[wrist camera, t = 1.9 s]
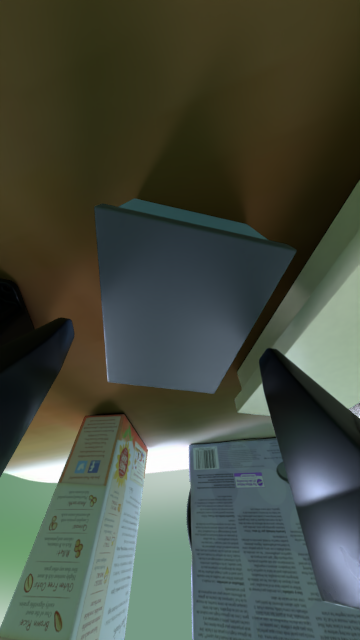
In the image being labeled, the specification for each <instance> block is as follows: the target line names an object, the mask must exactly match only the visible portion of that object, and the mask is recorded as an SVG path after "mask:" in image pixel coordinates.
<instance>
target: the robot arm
mask: <svg viewBox="0 0 360 640" xmlns="http://www.w3.org/2000/svg"><path fill="white" fill-rule="evenodd" d="M73 339H74V329H73V324H72V321H71V319H67V318H58V319H56V320H54V321H52V322H50V323H48V324H46V325H44V326H41V327H39V328H37V329H34V327H33V324H32V321H31V319H30V316H29V314H28V311H27V308H26V306H25V303H24V301H23V298H22V295H21V293H20V290H19V288H18V286H17V285H16V284H15V283H14V282H12V281H10V280H6V279H0V477H1V475H2V473H3V471H4V470H5V468H6V466H7V464H8V462H9V461H10V459H11V457H12V455H13V454H14V452H15V450H16V448H17V446H18V445H19V443H20V441H21V439H22V438H23V436H24V434H25V432H26V430H27V429H28V427H29V425H30V423H31V421H32V420H33V418H34V416H35V414H36V413H37V411H38V409H39V407H40V405H41V404H42V402H43V400H44V398H45V397H46V395H47V393H48V391H49V389H50V388H51V386H52V384H53V382H54V381H55V379H56V377H57V375H58V373H59V371H60V370H61V367H62V365H63V363H64V360H65V358H66V356H67V353H68V351H69V348H70V346H71V344H72V341H73ZM259 367H260V373H261V379H262V385H263V390H264V394H265V398H266V402H267V406H268V409H269V413H270V416H271V420H272V424H273V427H274V431H275V434H276V438H277V442H278V445H279V449H280V452H281V456H282V460H283V463H284V467H285V470H286V474H287V478H288V481H289V485H290V488H291V492H292V496H293V499H294V503H295V505H296V511H297V514H298V518H299V521H300V525H301V529H302V532H303V536H304V539H305V543H306V547H307V550H308V554H309V557H310V561H311V565H312V568H313V572H314V575H315V579H316V583H317V586H318V590H319V593H320V596H321V599H322V601H324V602H328V603H332V604H336V605H341V606H345V607H349V608H353V609H358V610H360V418H358V417H357V416H356V415H355V414H353V413H352V412H351V411H350V410H349V409H348V408H346V407H345V406H344V405H343V404H342V403H340V402H339V401H338V400H337V399H336V398H334V397H333V396H332V395H331V394H330V393H329V392H327V391H326V390H325V389H324V388H323V387H321V386H320V385H319V384H318V383H317V382H315V381H314V380H313V379H312V378H311V377H309V376H308V375H307V374H306V373H305V372H304V371H302V370H301V369H300V368H299V367H298V366H296V365H295V364H294V363H293V362H292V361H290V360H289V359H288V358H287V357H286V356H284V355H283V354H282V353H281V352H280V351H279V350H277V349H274V348H267V349H266V350H265V352H264V353H263V354H262V356H261V357H260V359H259Z"/></svg>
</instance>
